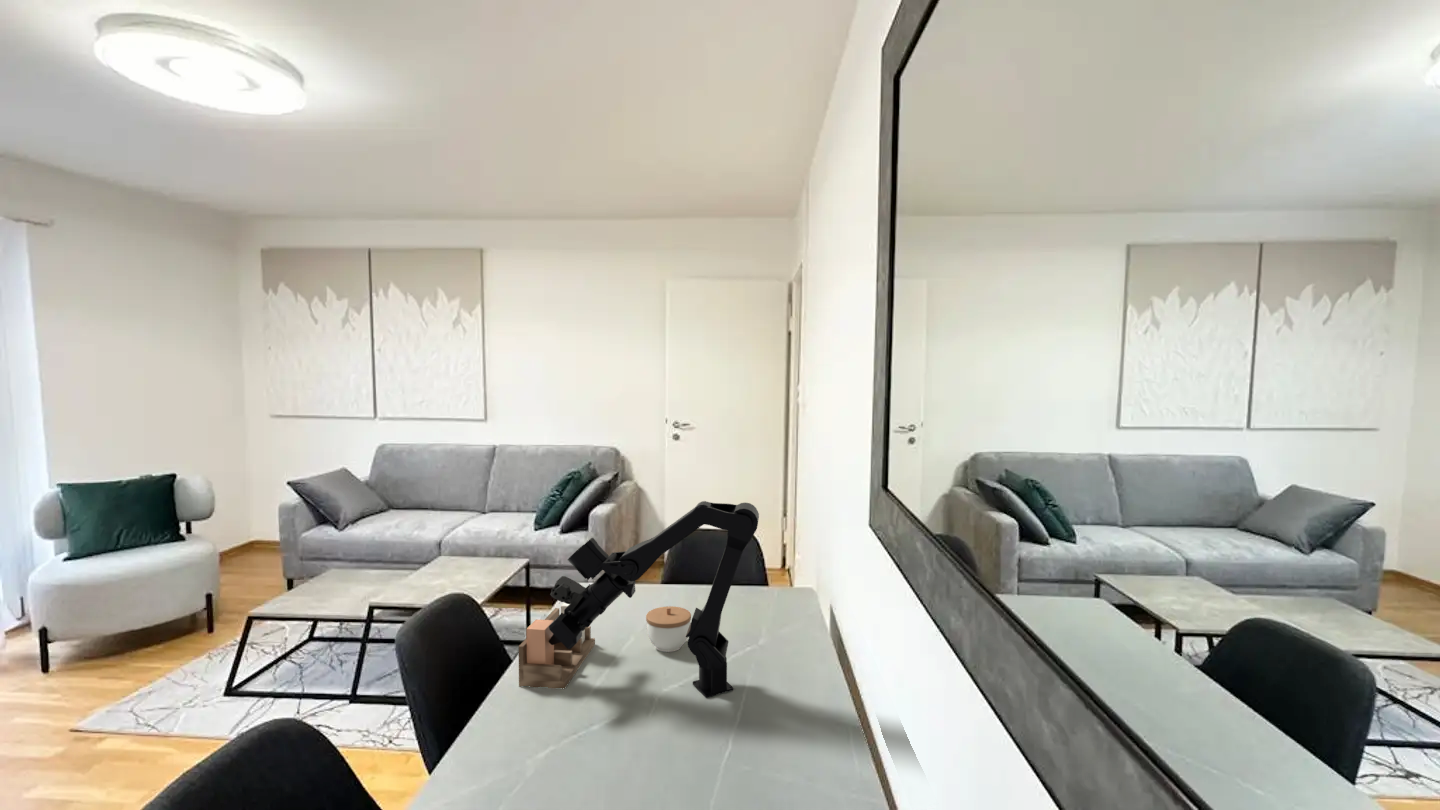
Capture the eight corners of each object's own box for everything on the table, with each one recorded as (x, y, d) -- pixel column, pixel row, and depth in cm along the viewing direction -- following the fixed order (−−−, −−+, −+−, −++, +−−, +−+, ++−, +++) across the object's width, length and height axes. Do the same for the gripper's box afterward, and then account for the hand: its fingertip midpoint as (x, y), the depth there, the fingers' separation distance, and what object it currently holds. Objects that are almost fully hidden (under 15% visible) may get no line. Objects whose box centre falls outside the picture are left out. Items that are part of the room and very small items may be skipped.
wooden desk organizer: (595, 644, 145) (594, 609, 145) (564, 689, 125) (564, 648, 124) (555, 642, 146) (555, 608, 146) (518, 686, 125) (518, 646, 125)
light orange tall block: (554, 665, 131) (553, 620, 131) (545, 676, 126) (544, 629, 126) (536, 664, 132) (535, 619, 131) (526, 675, 127) (526, 628, 126)
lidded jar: (693, 637, 149) (694, 600, 149) (687, 657, 139) (687, 617, 138) (651, 635, 150) (651, 598, 150) (641, 655, 140) (641, 615, 139)
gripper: (588, 553, 136) (541, 599, 138) (558, 581, 118) (505, 633, 119) (622, 589, 136) (575, 634, 138) (598, 622, 117) (543, 674, 119)
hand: (550, 642), depth 128 cm, fingers closed, pressing on light orange tall block
